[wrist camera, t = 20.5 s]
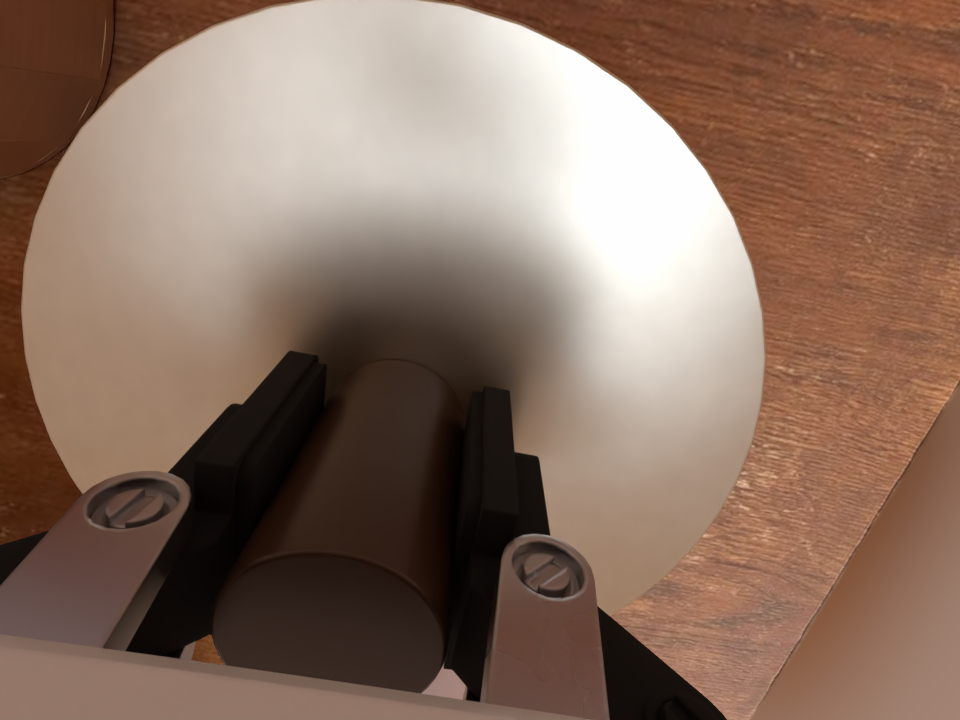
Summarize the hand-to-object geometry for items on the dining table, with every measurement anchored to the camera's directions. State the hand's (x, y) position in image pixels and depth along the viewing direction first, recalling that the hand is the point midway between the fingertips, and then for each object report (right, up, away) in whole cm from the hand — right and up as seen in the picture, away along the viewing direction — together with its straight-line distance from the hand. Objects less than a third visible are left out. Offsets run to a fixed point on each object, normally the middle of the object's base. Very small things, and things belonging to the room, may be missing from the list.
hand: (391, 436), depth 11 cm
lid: (0, 0, +1) cm, 1 cm away
